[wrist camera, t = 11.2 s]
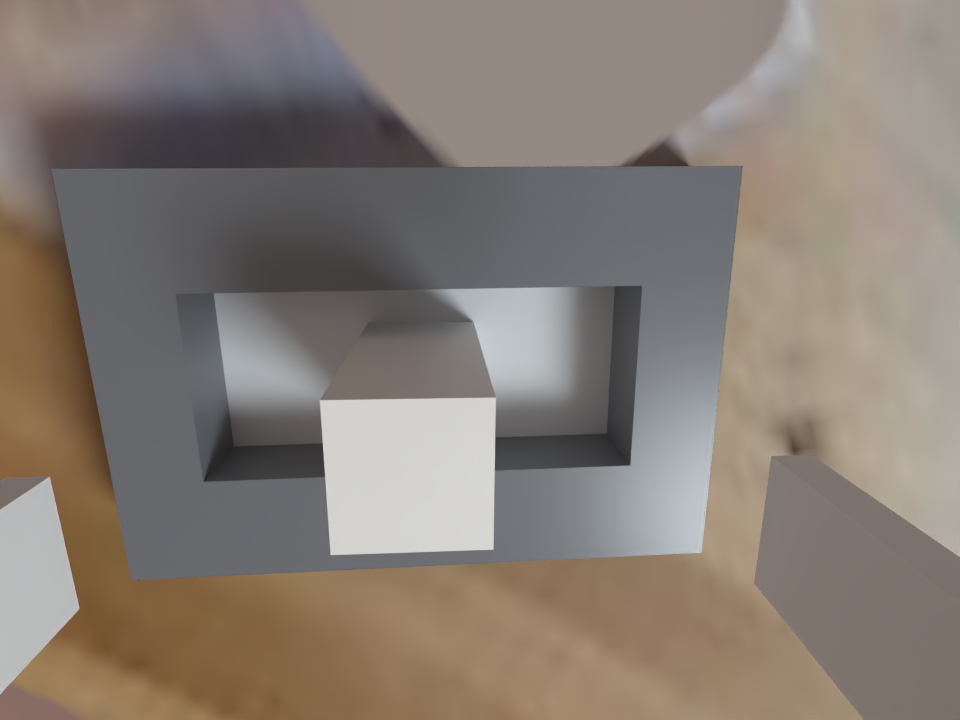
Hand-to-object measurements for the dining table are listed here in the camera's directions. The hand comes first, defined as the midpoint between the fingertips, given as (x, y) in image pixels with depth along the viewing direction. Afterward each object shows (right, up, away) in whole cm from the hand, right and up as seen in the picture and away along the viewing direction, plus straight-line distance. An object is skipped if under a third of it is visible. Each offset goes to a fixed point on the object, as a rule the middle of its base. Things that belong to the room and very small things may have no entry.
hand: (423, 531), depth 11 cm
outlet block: (-1, +3, +12) cm, 13 cm away
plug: (-1, +3, +12) cm, 12 cm away
